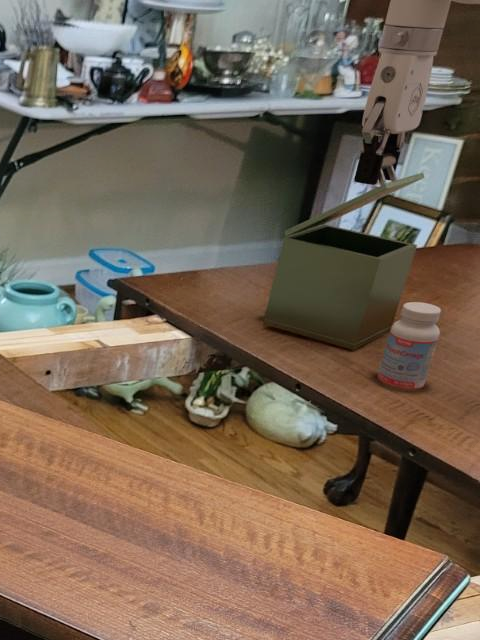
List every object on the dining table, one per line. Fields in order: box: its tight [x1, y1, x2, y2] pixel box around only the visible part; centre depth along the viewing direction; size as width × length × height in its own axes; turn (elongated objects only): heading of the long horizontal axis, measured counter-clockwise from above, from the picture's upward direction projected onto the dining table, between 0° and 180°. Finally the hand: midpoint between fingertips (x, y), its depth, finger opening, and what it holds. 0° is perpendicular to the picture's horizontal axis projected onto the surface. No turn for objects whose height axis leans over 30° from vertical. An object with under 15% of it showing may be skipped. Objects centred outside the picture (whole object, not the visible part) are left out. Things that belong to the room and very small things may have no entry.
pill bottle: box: [377, 301, 442, 390], centre depth 148 cm, size 6×6×11 cm
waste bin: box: [262, 224, 418, 351], centre depth 168 cm, size 15×14×13 cm
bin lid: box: [284, 153, 426, 237], centre depth 162 cm, size 16×14×5 cm
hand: (373, 179), depth 160 cm, fingers closed on bin lid, 5 cm apart
